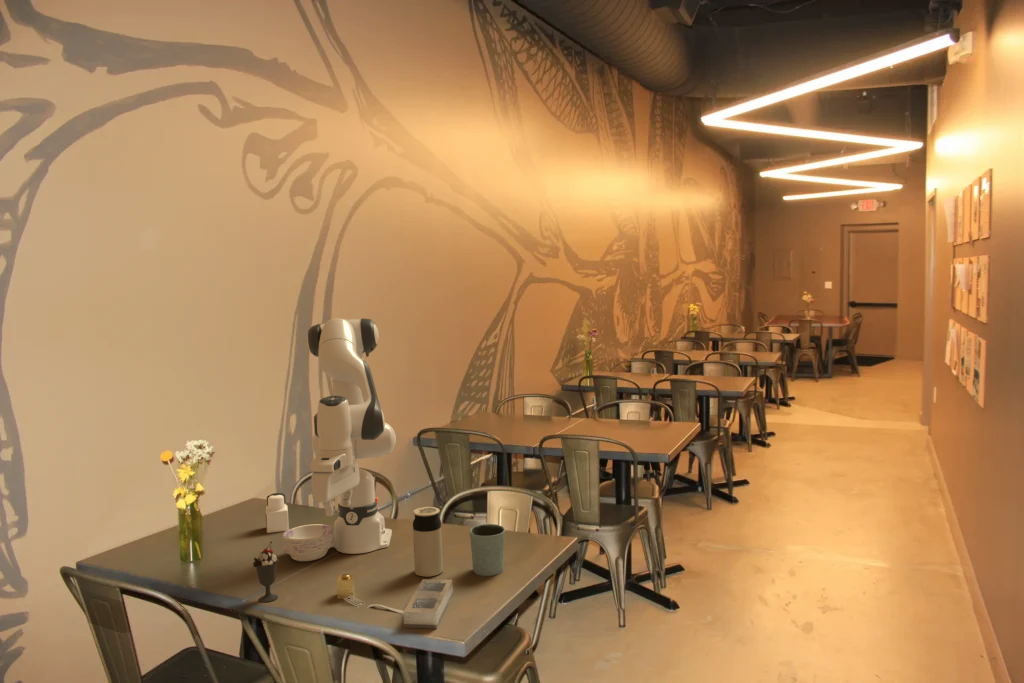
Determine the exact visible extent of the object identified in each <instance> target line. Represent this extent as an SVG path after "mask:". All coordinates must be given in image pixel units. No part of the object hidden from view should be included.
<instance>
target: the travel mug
mask: <svg viewBox="0 0 1024 683" xmlns="http://www.w3.org/2000/svg"><path fill="white" fill-rule="evenodd" d="M412 512H413V513H412V514H413V516H414V519H413V522H412V535H413V536H412V538H413V559H414V563H413V564H414V574H416V575H417V576H419V577H423V578H424V577H425V578H426V577H427V578H431V577H435V576H438V575H439V574H441V573H442V572H443V569H444V568H443V567H444V565H443V563H444V562H443V542H442V541H443V539H442V536H443V535H442V520H441V519H440V516H439V513H440V508H437V507H434V506H423V507H418V508H415V509H414V510H413V511H412Z"/></svg>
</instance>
